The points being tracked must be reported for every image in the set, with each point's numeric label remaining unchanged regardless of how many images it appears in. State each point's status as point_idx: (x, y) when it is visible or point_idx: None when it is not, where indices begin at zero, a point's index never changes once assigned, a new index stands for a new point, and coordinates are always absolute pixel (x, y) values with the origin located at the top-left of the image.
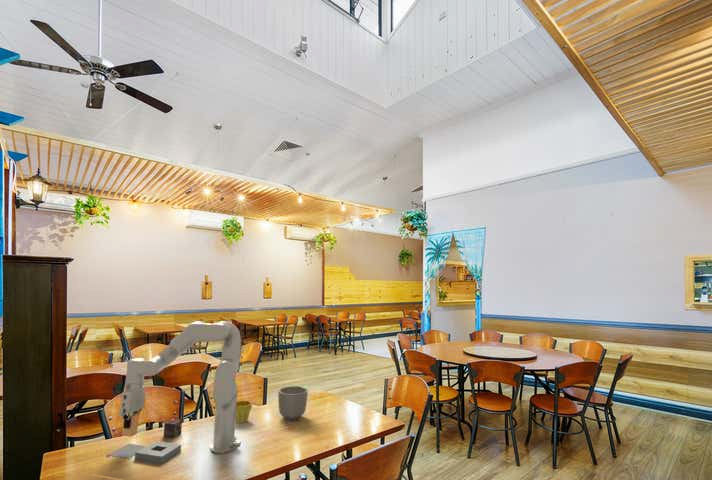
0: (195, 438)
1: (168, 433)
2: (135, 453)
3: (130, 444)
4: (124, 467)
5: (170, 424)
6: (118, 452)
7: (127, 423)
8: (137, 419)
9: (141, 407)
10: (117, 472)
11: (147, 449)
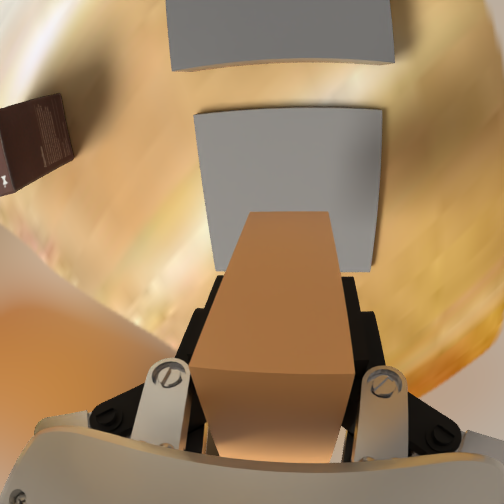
0: (25, 8)
1: (48, 133)
2: (392, 60)
3: (219, 254)
4: (456, 70)
5: (5, 140)
6: None
7: (371, 335)
8: (235, 305)
9: (103, 461)
10: (499, 74)
11: (320, 7)
